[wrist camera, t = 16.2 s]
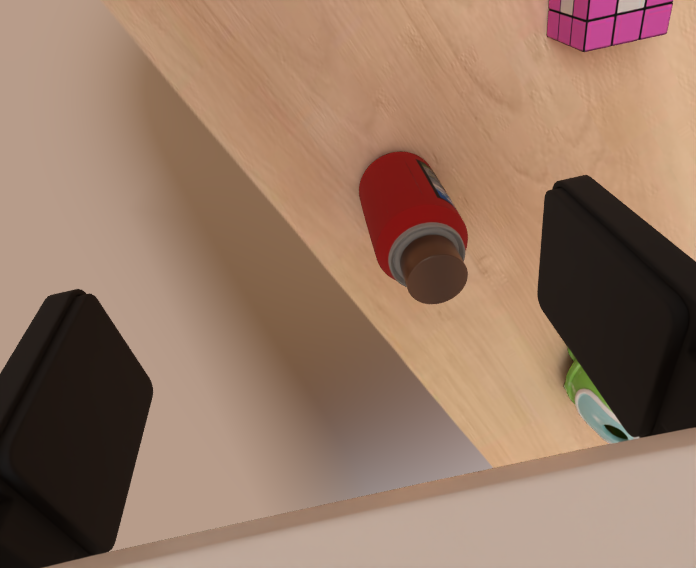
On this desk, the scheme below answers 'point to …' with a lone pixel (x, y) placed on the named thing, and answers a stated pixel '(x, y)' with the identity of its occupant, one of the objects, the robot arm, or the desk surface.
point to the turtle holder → (593, 405)
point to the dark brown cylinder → (433, 269)
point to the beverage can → (406, 208)
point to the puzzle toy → (606, 21)
